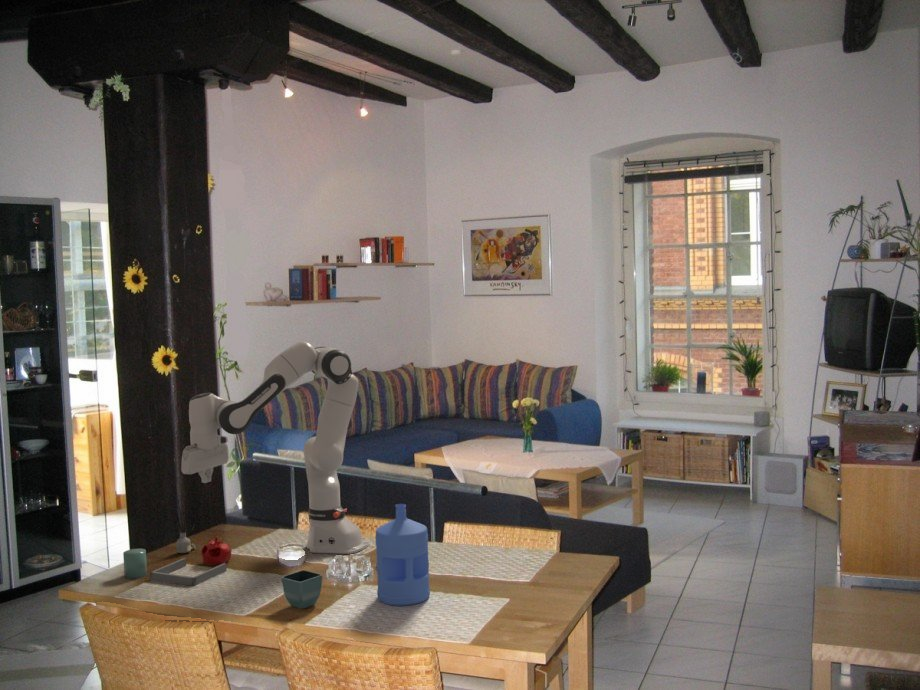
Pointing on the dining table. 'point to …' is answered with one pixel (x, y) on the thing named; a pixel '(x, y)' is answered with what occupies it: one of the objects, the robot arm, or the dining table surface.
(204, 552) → the pomegranate
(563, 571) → the dining table surface
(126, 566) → the rounded teal cylinder
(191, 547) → the reed diffuser
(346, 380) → the robot arm
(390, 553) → the water jug
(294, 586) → the flower pot
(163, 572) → the grey shallow tray frame
